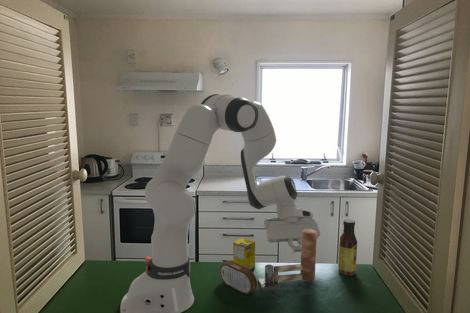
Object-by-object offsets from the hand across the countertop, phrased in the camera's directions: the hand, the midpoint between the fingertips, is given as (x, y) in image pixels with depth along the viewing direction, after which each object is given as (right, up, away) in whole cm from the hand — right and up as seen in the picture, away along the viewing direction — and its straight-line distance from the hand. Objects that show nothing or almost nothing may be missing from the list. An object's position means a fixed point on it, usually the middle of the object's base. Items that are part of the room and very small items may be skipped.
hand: (297, 251), depth 126 cm
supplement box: (-19, -8, +5) cm, 21 cm away
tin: (-22, -10, -9) cm, 26 cm away
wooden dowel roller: (-2, -8, -6) cm, 10 cm away
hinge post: (-11, -10, -7) cm, 16 cm away
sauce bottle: (+19, -8, +2) cm, 21 cm away
